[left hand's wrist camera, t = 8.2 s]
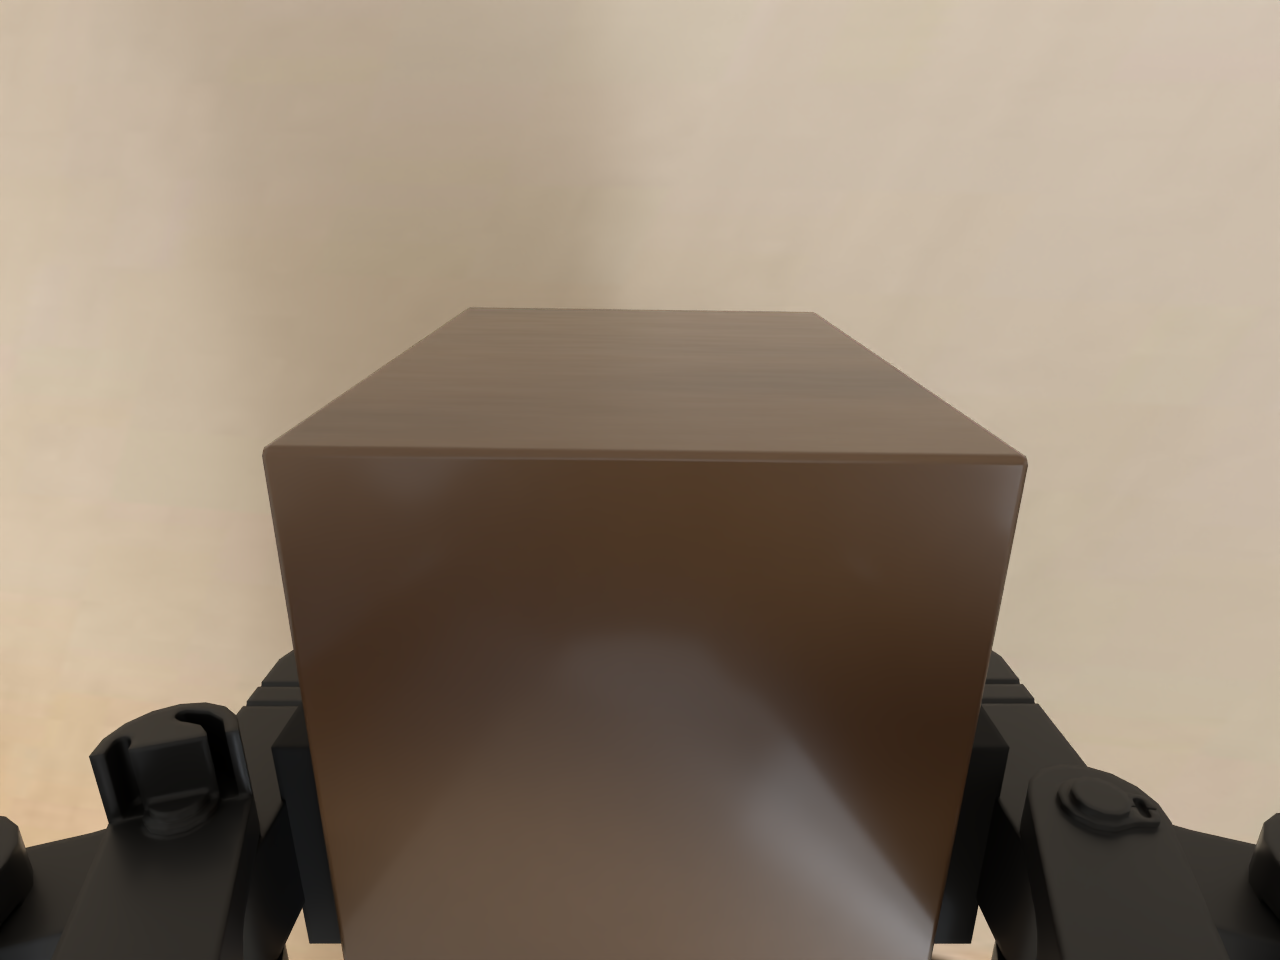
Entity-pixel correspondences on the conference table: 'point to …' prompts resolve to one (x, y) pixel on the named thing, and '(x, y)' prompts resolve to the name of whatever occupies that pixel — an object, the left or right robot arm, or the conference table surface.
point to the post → (641, 638)
